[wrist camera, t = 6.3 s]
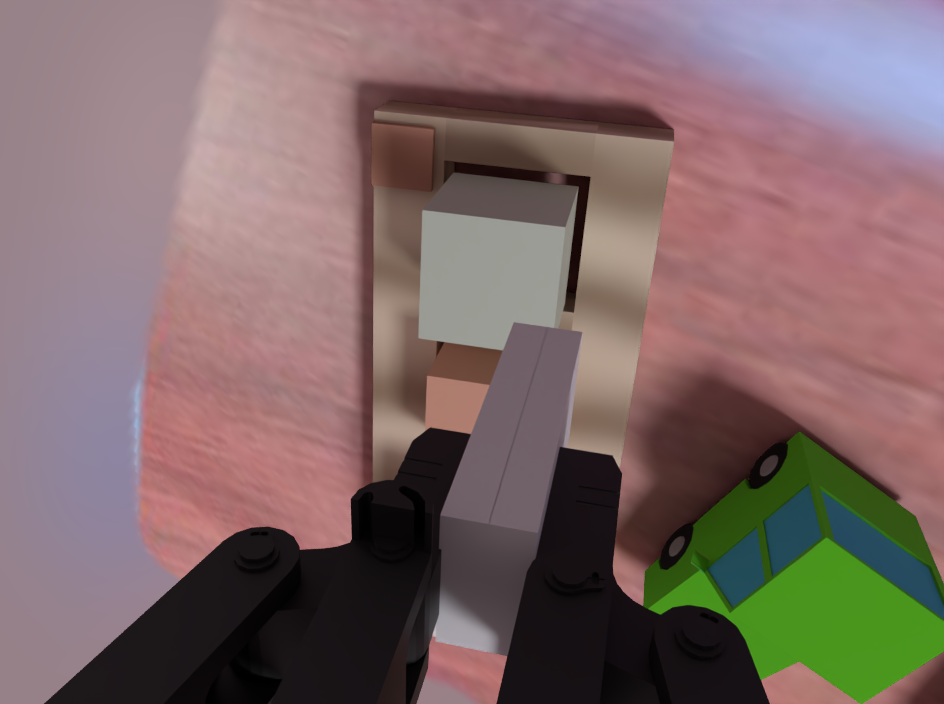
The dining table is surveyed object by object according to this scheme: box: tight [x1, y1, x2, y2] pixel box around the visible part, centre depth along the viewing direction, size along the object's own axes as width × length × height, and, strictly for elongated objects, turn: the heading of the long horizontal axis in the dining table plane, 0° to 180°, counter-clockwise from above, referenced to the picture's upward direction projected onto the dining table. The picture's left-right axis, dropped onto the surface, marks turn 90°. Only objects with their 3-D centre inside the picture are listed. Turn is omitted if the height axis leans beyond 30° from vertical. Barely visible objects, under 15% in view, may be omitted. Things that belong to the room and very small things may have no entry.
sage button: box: [418, 173, 579, 350], centre depth 39 cm, size 6×6×6 cm
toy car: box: [643, 431, 944, 704], centre depth 45 cm, size 10×13×10 cm
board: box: [371, 101, 674, 483], centre depth 47 cm, size 29×14×3 cm, turn 177°
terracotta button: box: [425, 342, 503, 434], centre depth 45 cm, size 6×6×6 cm
